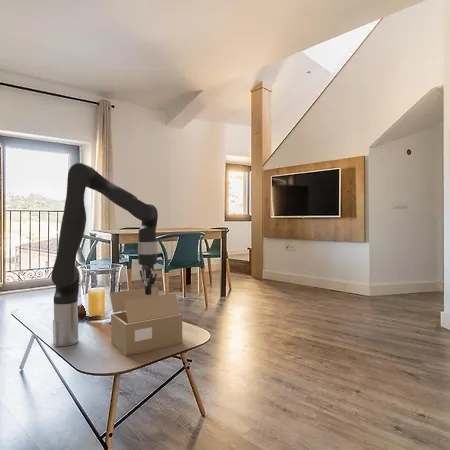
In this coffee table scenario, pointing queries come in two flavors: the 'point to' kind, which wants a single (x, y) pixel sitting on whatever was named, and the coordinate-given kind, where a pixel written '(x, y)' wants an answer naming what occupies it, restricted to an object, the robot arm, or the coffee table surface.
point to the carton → (145, 333)
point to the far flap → (129, 297)
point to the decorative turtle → (81, 312)
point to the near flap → (151, 307)
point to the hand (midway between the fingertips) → (148, 294)
